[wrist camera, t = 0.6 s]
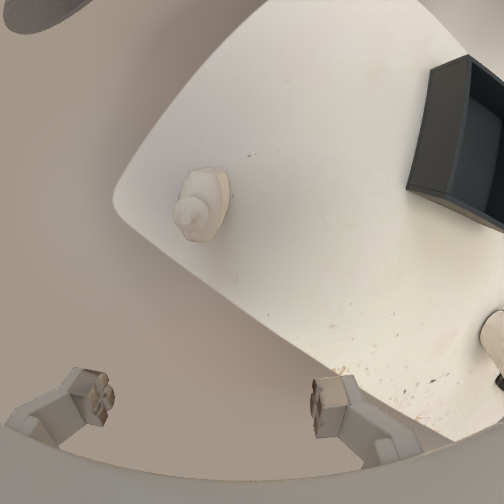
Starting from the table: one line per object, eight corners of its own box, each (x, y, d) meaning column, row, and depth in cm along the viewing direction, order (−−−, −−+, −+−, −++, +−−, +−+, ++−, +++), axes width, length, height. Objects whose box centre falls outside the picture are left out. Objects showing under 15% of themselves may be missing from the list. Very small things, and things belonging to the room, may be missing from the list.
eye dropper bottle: (247, 185, 29) (241, 200, 17) (215, 231, 30) (192, 274, 19) (210, 160, 28) (180, 160, 17) (180, 207, 29) (135, 236, 18)
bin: (430, 69, 24) (468, 53, 17) (502, 118, 25) (540, 117, 18) (405, 189, 29) (444, 199, 21) (480, 224, 29) (519, 240, 22)
